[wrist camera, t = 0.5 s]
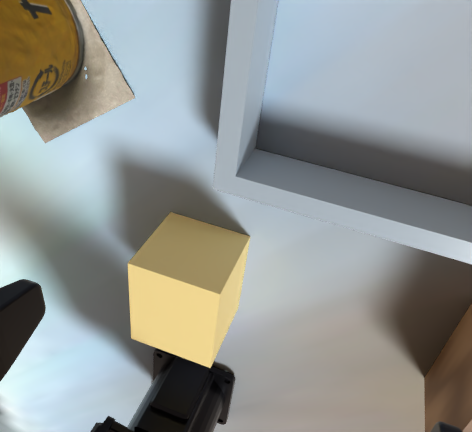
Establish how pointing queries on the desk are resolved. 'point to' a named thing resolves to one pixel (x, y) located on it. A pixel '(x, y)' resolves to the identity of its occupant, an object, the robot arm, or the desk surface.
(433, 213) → the gray tray
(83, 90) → the condiment
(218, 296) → the mustard box
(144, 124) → the desk surface
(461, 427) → the walnut block
